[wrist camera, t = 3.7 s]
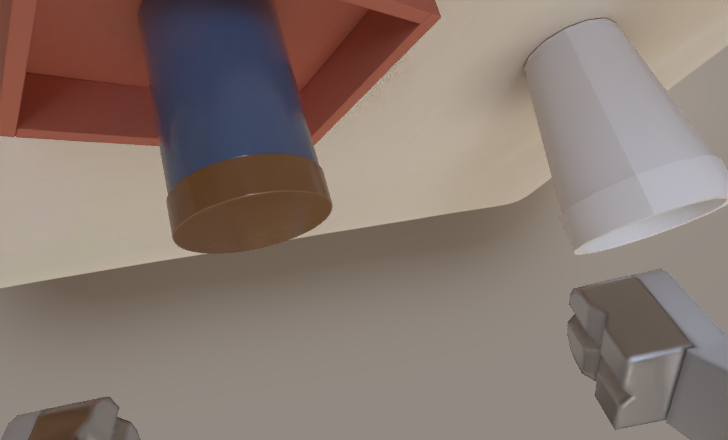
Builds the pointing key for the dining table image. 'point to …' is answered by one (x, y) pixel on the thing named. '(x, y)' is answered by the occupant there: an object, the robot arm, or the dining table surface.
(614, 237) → the foam cup
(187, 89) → the jar
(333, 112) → the tray
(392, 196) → the dining table surface
